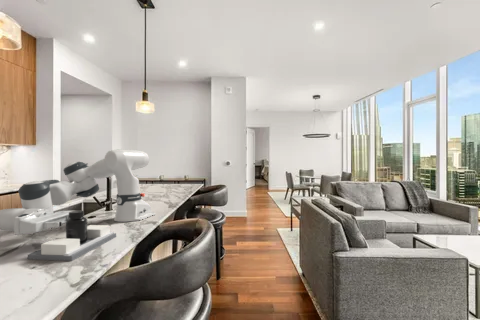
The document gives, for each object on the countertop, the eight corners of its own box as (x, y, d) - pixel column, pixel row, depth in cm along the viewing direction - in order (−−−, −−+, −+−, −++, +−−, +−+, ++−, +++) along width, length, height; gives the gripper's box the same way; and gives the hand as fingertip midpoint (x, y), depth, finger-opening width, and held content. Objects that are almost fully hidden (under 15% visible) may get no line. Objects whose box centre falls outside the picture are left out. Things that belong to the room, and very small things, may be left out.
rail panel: (81, 235, 103) (81, 224, 103) (116, 236, 102) (116, 225, 102) (27, 259, 79) (27, 244, 79) (71, 260, 78) (71, 245, 78)
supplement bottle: (78, 238, 95) (78, 209, 95) (91, 240, 93) (91, 210, 93) (61, 244, 88) (61, 213, 88) (75, 246, 86) (75, 214, 86)
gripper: (59, 221, 102) (89, 221, 101) (9, 236, 82) (46, 238, 80) (59, 206, 102) (89, 207, 101) (9, 218, 82) (46, 219, 80)
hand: (70, 221), depth 90 cm, fingers open, 8 cm apart
